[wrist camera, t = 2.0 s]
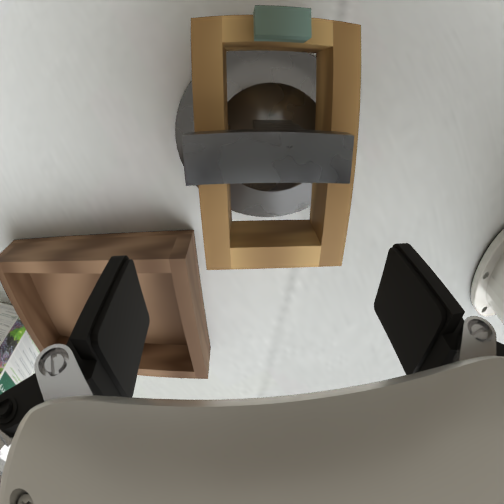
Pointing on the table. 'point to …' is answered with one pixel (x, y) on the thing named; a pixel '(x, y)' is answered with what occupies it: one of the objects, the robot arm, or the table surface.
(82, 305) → the tray
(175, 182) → the table surface
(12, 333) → the syrup box
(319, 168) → the door handle
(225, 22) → the light wooden frame
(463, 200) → the table surface
